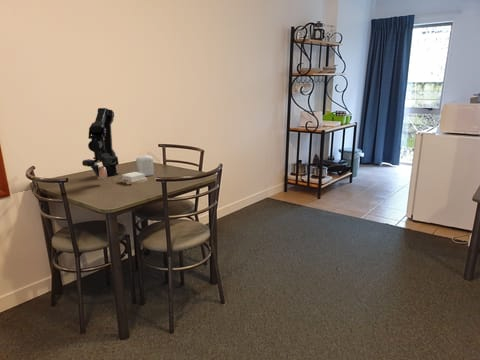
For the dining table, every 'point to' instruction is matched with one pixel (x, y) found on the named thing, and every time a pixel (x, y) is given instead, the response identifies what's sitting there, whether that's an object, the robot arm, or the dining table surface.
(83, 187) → the dining table surface
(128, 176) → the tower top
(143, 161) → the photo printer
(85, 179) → the dining table surface
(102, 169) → the pink small block
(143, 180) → the tower base
